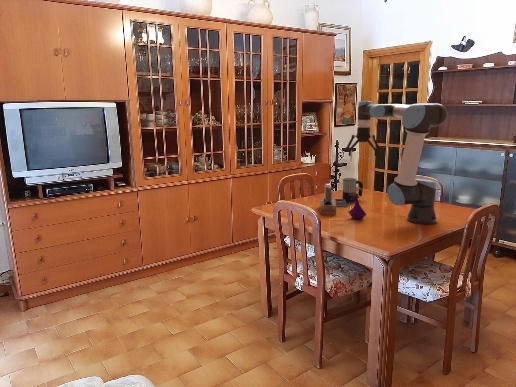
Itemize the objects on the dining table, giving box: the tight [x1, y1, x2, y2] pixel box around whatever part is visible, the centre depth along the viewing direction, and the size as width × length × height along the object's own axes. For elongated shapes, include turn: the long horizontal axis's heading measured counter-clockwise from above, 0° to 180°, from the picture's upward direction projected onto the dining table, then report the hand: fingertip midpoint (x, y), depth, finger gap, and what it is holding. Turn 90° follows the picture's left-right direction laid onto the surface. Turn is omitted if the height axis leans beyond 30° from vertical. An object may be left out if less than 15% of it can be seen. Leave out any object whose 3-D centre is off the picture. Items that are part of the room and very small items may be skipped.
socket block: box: [334, 198, 349, 208], centre depth 260 cm, size 10×10×3 cm
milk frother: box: [341, 177, 364, 203], centre depth 273 cm, size 14×16×15 cm
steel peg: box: [324, 183, 332, 189], centre depth 250 cm, size 4×4×14 cm
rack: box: [319, 197, 337, 216], centre depth 246 cm, size 18×9×6 cm, turn 172°
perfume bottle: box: [348, 187, 367, 221], centre depth 227 cm, size 8×8×18 cm
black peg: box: [324, 186, 333, 205], centre depth 241 cm, size 4×4×14 cm
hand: (362, 161), depth 250 cm, fingers open, 13 cm apart
